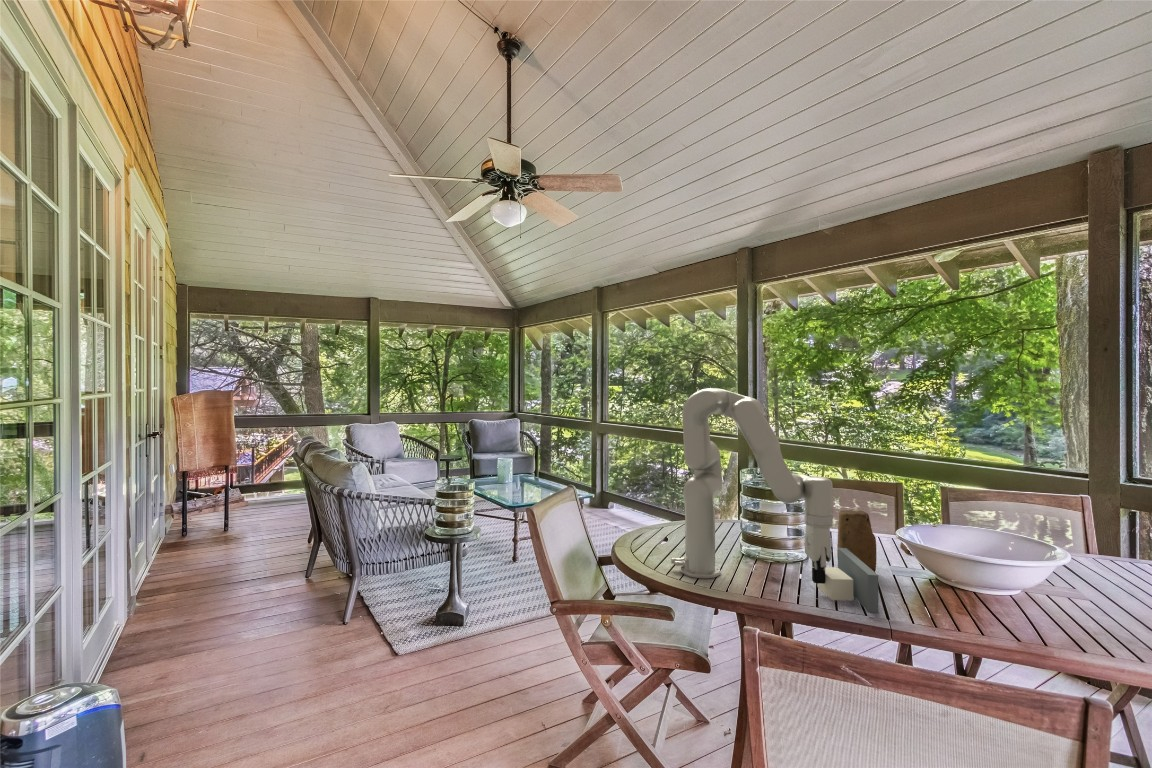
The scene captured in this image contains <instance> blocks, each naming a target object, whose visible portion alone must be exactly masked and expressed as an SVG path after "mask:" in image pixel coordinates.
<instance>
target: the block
mask: <svg viewBox="0 0 1152 768" xmlns="http://www.w3.org/2000/svg"><path fill="white" fill-rule="evenodd" d="M837 524H838V525H837V547H836V548H837V552H836V553H837V557H836V558H838V548H847V549H848V550H849V551H850V552H851V553H853V554H854V555H855V556H856V557H857V558H859V559H860V560H861V561H862V562H863V563H864V564H866V565H867V566H868V567H869V568H870V569H872V570H873V571H874V572H875V573H876V570H877V538H876V536H875V534H874V533H873V529H872V524H871V519H870V516H869V513H867V512H866V511H863V510H853V509H847V510H846V509H844V510H840V511H839V512H838V523H837Z"/></svg>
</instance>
